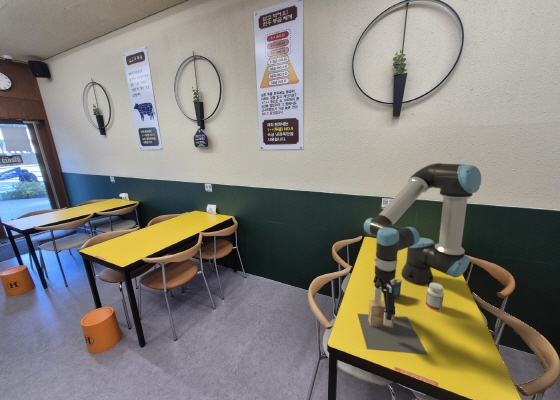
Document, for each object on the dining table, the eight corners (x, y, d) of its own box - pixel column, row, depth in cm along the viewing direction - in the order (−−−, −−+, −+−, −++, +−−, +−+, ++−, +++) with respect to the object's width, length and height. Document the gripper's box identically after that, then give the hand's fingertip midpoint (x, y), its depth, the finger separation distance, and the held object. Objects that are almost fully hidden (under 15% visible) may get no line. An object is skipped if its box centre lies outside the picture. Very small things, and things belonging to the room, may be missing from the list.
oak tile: (390, 321, 95) (392, 301, 92) (393, 327, 91) (395, 307, 89) (368, 319, 96) (369, 299, 94) (370, 326, 93) (371, 305, 90)
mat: (406, 317, 97) (407, 316, 97) (427, 355, 79) (427, 354, 79) (357, 314, 100) (357, 313, 100) (366, 349, 82) (367, 349, 82)
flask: (396, 293, 112) (398, 274, 110) (402, 296, 110) (404, 277, 107) (383, 299, 109) (385, 279, 106) (388, 302, 106) (390, 283, 104)
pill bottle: (432, 301, 106) (435, 280, 103) (444, 310, 100) (448, 288, 97) (422, 304, 105) (424, 283, 102) (433, 313, 99) (437, 291, 96)
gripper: (367, 251, 100) (365, 292, 105) (385, 285, 76) (381, 336, 81) (385, 251, 99) (382, 292, 104) (408, 286, 75) (403, 337, 80)
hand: (382, 311), depth 92 cm, fingers open, 13 cm apart
